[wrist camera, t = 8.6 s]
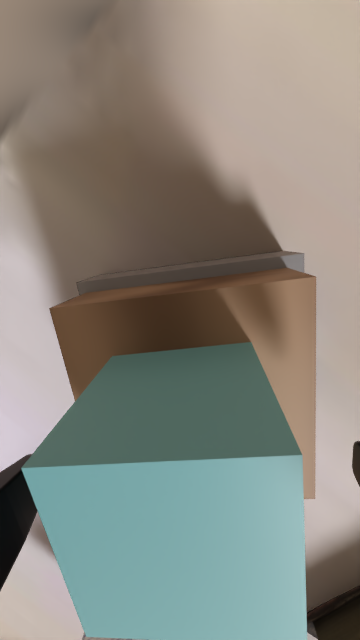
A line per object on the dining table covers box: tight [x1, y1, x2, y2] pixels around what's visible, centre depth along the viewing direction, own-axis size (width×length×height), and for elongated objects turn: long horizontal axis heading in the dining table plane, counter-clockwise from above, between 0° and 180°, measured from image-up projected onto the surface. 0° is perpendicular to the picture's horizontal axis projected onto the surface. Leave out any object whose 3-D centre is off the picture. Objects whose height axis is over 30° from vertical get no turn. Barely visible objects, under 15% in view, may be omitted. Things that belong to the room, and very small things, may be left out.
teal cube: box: [21, 342, 307, 640], centre depth 8 cm, size 5×5×5 cm
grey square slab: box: [77, 251, 304, 295], centre depth 15 cm, size 10×10×4 cm
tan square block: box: [49, 268, 316, 499], centre depth 11 cm, size 9×9×3 cm
